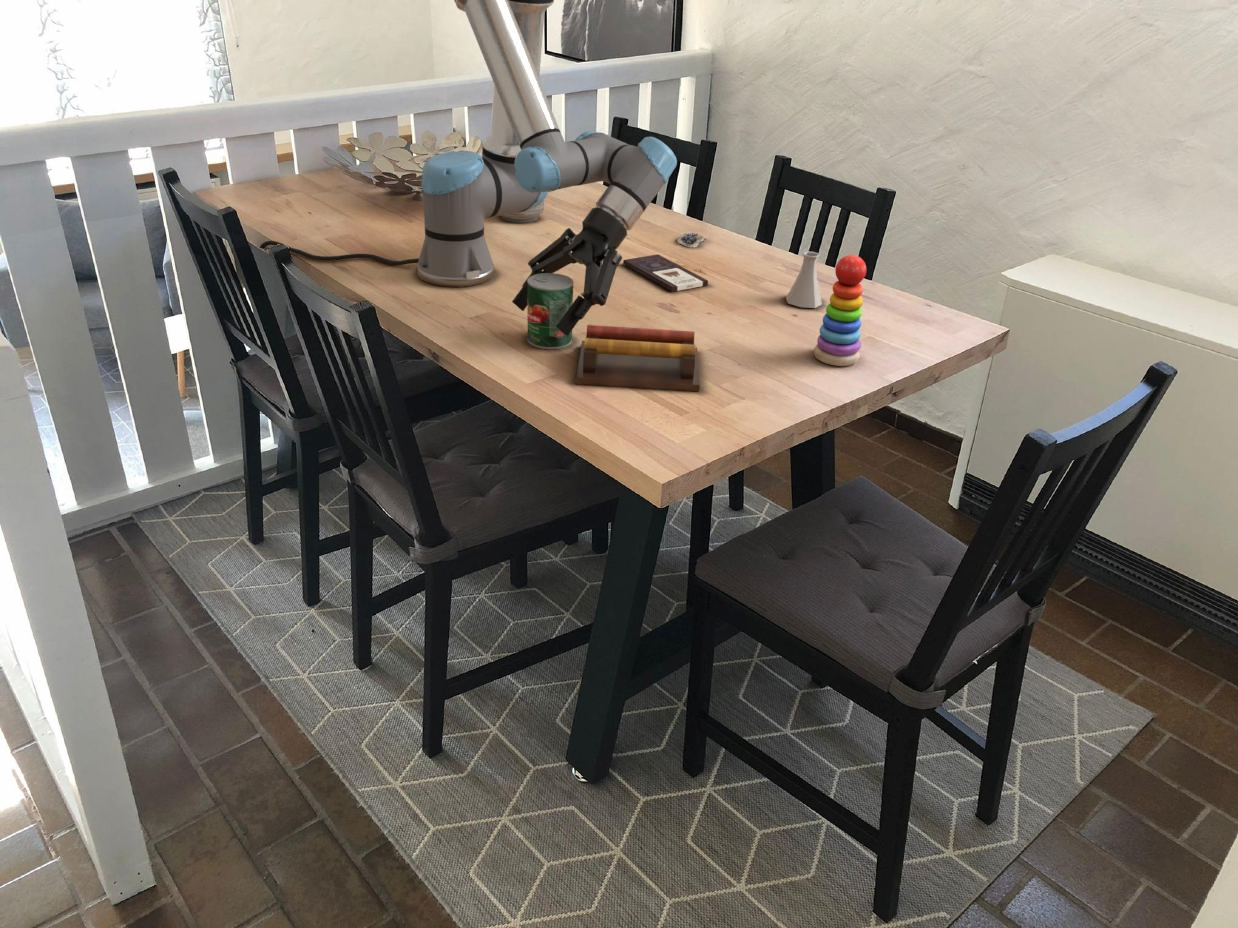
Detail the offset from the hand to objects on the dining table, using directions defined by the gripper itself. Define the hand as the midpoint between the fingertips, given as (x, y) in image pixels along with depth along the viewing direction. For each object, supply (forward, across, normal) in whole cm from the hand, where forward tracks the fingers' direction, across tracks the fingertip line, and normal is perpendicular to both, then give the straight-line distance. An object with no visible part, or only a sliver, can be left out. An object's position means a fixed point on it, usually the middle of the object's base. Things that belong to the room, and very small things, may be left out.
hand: (538, 318), depth 170 cm
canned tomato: (+2, 0, -5) cm, 5 cm away
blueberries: (-41, +28, -48) cm, 69 cm away
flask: (-36, -12, -43) cm, 58 cm away
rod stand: (-3, -17, -9) cm, 20 cm away
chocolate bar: (-27, +15, -33) cm, 45 cm away
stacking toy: (-25, -33, -32) cm, 53 cm away
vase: (-24, +63, -31) cm, 75 cm away
